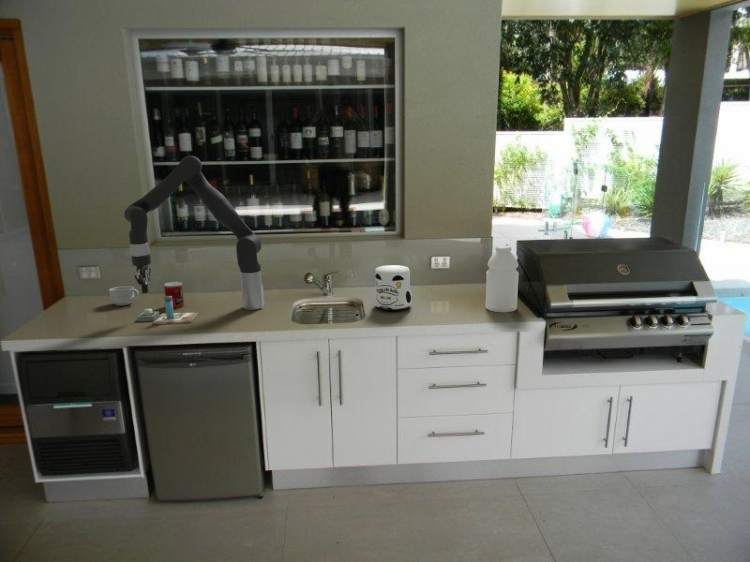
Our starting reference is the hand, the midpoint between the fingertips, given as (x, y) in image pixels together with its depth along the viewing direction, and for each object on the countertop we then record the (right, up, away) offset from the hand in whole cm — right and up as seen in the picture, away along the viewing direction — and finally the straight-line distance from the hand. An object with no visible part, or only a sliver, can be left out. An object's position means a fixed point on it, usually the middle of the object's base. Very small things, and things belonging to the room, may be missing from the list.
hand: (145, 292), depth 241 cm
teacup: (-19, -6, +25) cm, 32 cm away
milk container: (+107, -7, +12) cm, 108 cm away
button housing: (0, -11, +3) cm, 12 cm away
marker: (+11, -11, 0) cm, 15 cm away
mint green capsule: (0, -11, +3) cm, 12 cm away
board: (+13, -12, +1) cm, 17 cm away
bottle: (+156, -7, +8) cm, 156 cm away
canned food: (+6, -7, +20) cm, 22 cm away
